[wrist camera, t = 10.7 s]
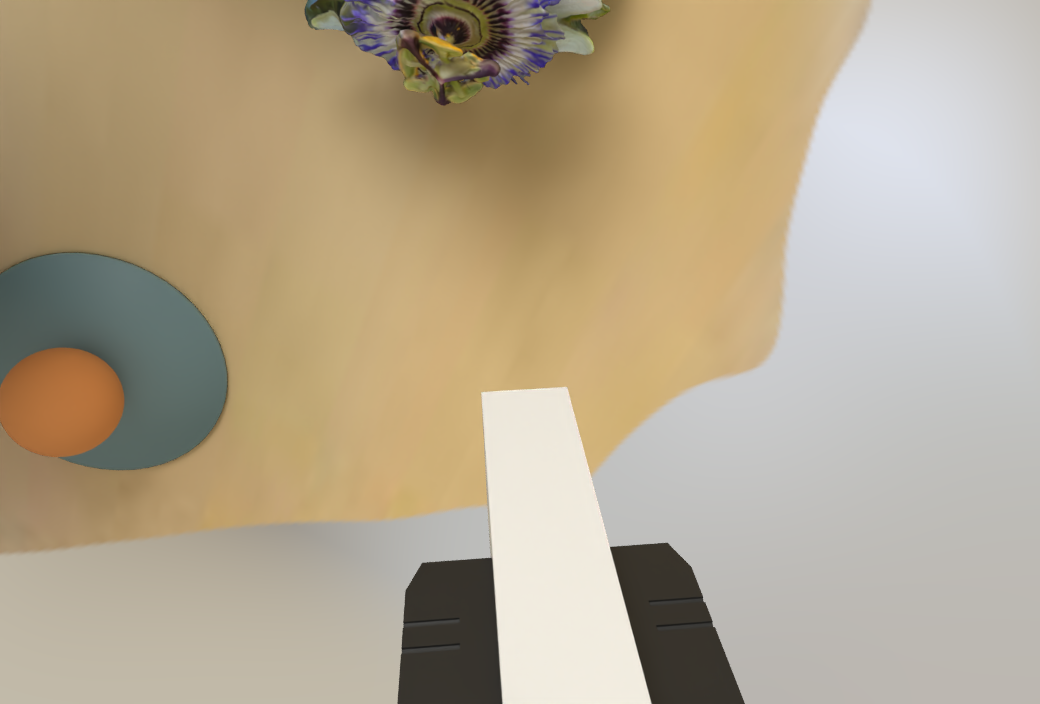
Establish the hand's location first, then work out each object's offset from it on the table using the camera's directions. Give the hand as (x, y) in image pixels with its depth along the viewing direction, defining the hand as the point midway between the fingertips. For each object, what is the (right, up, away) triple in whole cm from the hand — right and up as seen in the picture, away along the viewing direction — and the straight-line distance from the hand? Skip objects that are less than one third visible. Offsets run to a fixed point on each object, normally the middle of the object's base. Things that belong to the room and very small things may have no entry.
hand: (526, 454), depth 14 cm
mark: (-22, +1, +27) cm, 35 cm away
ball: (-23, -1, +25) cm, 34 cm away
